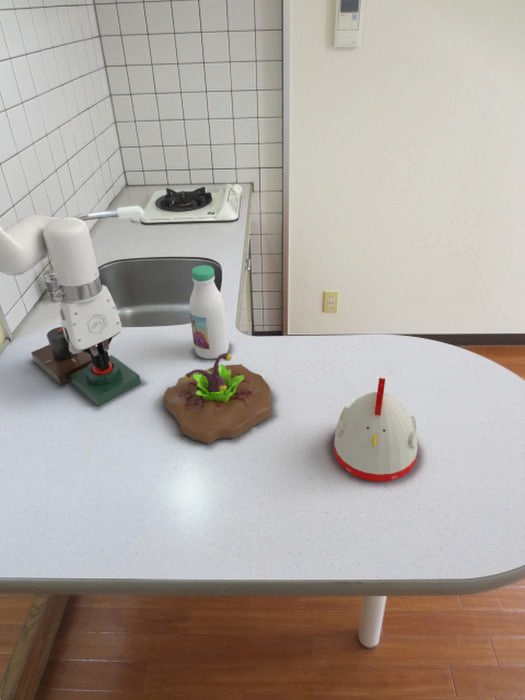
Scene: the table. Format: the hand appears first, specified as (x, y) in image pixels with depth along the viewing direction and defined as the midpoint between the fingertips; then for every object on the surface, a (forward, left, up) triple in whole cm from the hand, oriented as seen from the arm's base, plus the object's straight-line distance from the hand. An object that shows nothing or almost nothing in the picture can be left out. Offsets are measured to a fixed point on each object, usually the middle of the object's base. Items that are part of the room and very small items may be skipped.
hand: (102, 366), depth 107 cm
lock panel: (-13, -2, -4) cm, 14 cm away
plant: (+23, +12, -5) cm, 26 cm away
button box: (0, 0, -4) cm, 4 cm away
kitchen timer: (+52, +22, -5) cm, 56 cm away
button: (0, 0, -2) cm, 2 cm away
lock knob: (-13, -2, -2) cm, 13 cm away
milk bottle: (+7, +23, -5) cm, 24 cm away
